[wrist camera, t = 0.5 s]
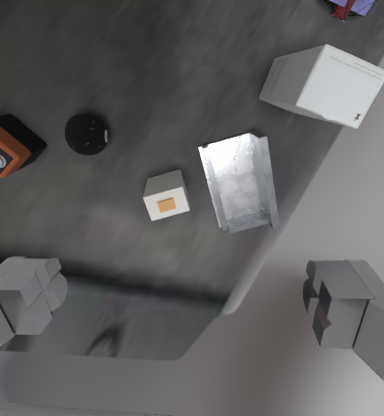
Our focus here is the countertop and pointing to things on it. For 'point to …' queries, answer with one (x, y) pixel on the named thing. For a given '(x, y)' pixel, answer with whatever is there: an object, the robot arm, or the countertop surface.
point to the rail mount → (240, 181)
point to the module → (166, 195)
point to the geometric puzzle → (351, 7)
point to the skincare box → (323, 85)
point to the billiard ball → (86, 134)
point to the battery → (17, 145)
